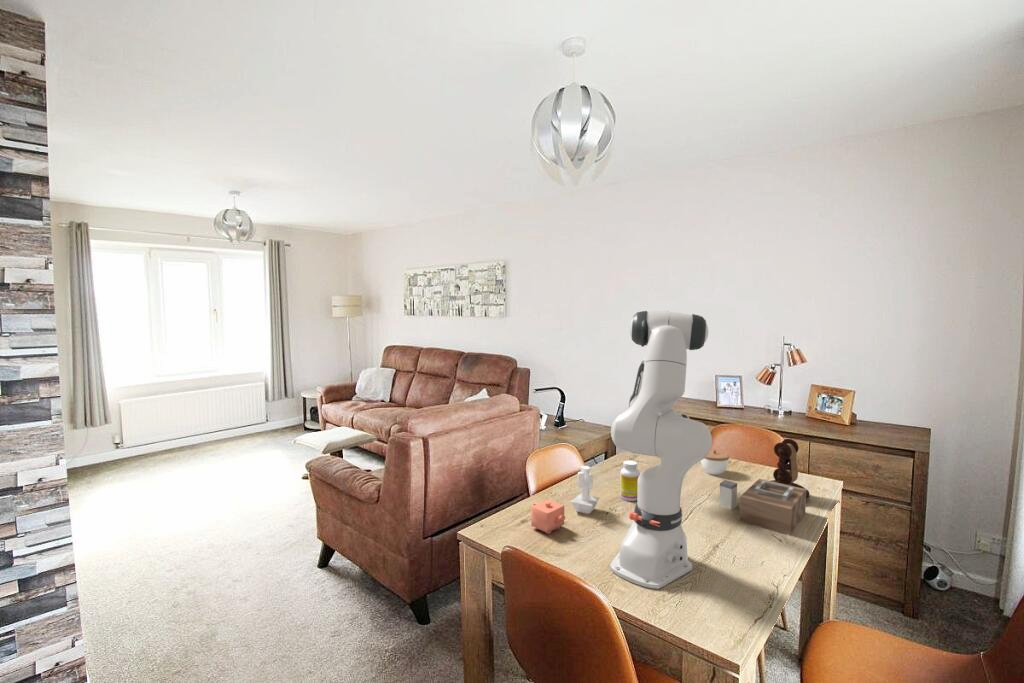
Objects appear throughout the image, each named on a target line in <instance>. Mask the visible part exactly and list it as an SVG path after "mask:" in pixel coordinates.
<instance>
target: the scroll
mask: <svg viewBox="0 0 1024 683" xmlns="http://www.w3.org/2000/svg"><path fill="white" fill-rule="evenodd" d="M773 447H774V448H773V452H774V454H775V455H776V456H777V457H778V462H777V464H776V465H777V467H778V468H776V469H774V471H773V478H774V479H773V480H770V481H772V482H776V483H781V484H785V485H790V486H794V487H799V488H803V489H806V500H808V499H809V498H810V491H809V490H808V489H807V488H805V487H804V486H802V485H800V484H797V483H794V482H795V481H797V480H798V476H799V471H798V470H799V469H798V463H797V462H798V461H797V453H798V452H799V448H800V447H799V445H798V443H797V442H796V440H793V439H792V438H786V439H783V440H782V441H781V442H777V443H776V444H775V445H774V446H773Z"/></svg>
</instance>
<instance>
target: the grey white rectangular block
mask: <svg viewBox="0 0 1024 683" xmlns="http://www.w3.org/2000/svg"><path fill="white" fill-rule="evenodd" d="M737 498H738V483H737V482H734V481H730V480H726V479H724V480H723V481H721V482H719V498H718V499H719V501H718V502H719V503H718V504H719V505H718V506H719V507H721V508H725V509H729V510H734V508H736V507H737V506H738V505H737V504H738V503H737V502H738V499H737Z"/></svg>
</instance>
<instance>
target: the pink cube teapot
mask: <svg viewBox="0 0 1024 683" xmlns="http://www.w3.org/2000/svg"><path fill="white" fill-rule="evenodd" d="M530 511H531V512H530V514H531V515H530V517H531V518H530V519H531V521H530V522H531V527H534V528H535V529H536V530H540V531H542V532H545V533H546V535H547V534H548V535H550V534H552V532H553V531H554V530H560V527H562V526H564V525H565V520H566V516H565V505H564V504H561V503H558V502H556V501H553V500H551V499H546V500H543V501H541V502H534V503H533V505H532V506H531V507H530Z"/></svg>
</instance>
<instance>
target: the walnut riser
mask: <svg viewBox="0 0 1024 683" xmlns="http://www.w3.org/2000/svg"><path fill="white" fill-rule="evenodd" d="M806 489H807V488H805V489H803V488H799V487H794V486H790V485H785V484H781V483H776V482H772V481H771V480H768V479H767V480H766V479H764V478H763V479H762V478H758V479H757V480H756V481H754V483H753V484H752V485H751V486H750V487H748V488H747V489H746V491H744V492H743V493H742V494H741V495H740V496H739V521H740V522H742V523H746V524H748V525H753V526H755V527H759V528H763V529H766V530H769V531H773V532H777V533H780V534H783V535H787V536H791V535H792V533H793V532H794V530H795V528H797V526H798V524H799V523H800V522H801V520H802V519H803V517H805V516H804V515H805V514H806V508H807V506H806V505H807V504H806V503H807V502H806V501H807V499H806Z"/></svg>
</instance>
